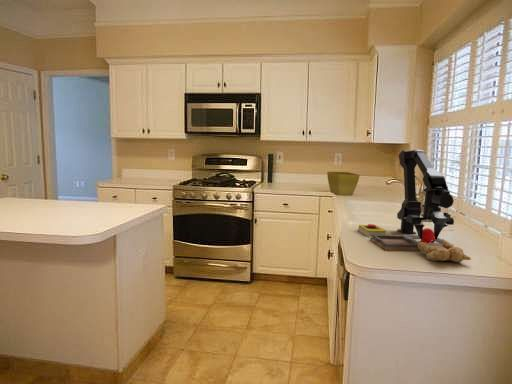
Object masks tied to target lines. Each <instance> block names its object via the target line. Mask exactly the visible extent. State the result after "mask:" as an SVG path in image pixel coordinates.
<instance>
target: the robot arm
mask: <svg viewBox="0 0 512 384" xmlns="http://www.w3.org/2000/svg"><path fill="white" fill-rule="evenodd" d="M398 159H399V165H400V166H401V168H402V169H403V179H404V180H403V185H404V186H403V187H404V188H403V189H404V200H403V201H402V203H401V206H400V207H401V208H400V209H399V211H398V212H397V215H396V218H397V219H398V220H401V221H400V228H397V231H398V232H400V233H402V234H410V235H418V236H419V240H421V239H422V231H423V229H424V227H425V224H423V223H432V224H433V232H434V236H435V241H436V239H437V237H439V235H440V234H441V232H442V231H443V229H444V228H446V227H449V226H450V225H453V226H454V224H455V220H454V218H453V217H451V215H452V214H451V213H450V212H447V211H446V212H442V208H444V209H449V208H451V207H452V206H453V204H454V197H453V196H452V194H451V193H450V191H449V187H448V184H447V181H446V179H445V176H444V175H443V174H442V172H440V171H438V170H436V168H434V166H433V165H432V163H431V161H430V159H428V156H427V155H426V150H423V149H413V150H407V149H406V150H405V149H404V150H401V151H400V152H399V153H398ZM417 166H418V168H419V170H420V171H421V173H422V182H423V184H424V186H425V188H424V189H423V192H424V193H425V194H424V204H422V202H421V201H419V200H418V199H417V193H416V192H417V189H416V187H417V186H416V167H417ZM422 208H423V213H422ZM414 228H415V230H416V232H415V231H414Z"/></svg>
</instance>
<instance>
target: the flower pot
mask: <svg viewBox="0 0 512 384" xmlns="http://www.w3.org/2000/svg"><path fill="white" fill-rule="evenodd" d="M326 174H327V182H328V187H329V190H330V193H331V194H334V195H338V196H352V195H354V193H355V190H356V188H357V185H358V182H359V180H360V176H361V175H360V174H357V173H353V172H348V171H327V173H326Z"/></svg>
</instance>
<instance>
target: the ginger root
mask: <svg viewBox="0 0 512 384" xmlns="http://www.w3.org/2000/svg"><path fill="white" fill-rule="evenodd" d="M441 239H442V242H443V244H442V243H441V244H442V245H443V247H442V246H431V245H429V244H430V243H429V244H427V243H425V242H422V241H418V242H419V243H418V248H419V249H420V250H421V251H420V252H422V253H424V254H425V255H426V256H425V257H426V258H427V259H428V260H430V261H433V262H438V261H444V262H445V261H452V262H454V263H461V262H463V261H470V260H472V258H471V257H470V256H467V255H466V254H465V252H464V249H462V248H461V247H458V246H455V245H454V246H453V245H451V244H450V243H451V242H450V243H448V242H449V241H448V240H445V239H444V238H441Z"/></svg>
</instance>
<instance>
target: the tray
mask: <svg viewBox="0 0 512 384" xmlns="http://www.w3.org/2000/svg"><path fill="white" fill-rule="evenodd" d="M402 236H404V237H406V238H408V239H410V240H412V241H414V242H415V243H417V244H418V243H419V242H420V241H417V240H416V239H419V236H418V234H402ZM442 239H443V238H441V237H439V236H438V237H437V239H436V240H435V242H437V243H429V245H431V246H442V247H443V245H442V244H443V242H442ZM419 240H420V239H419ZM447 242H448V243H450V244H451V245H453V246H454V247H455V244H454V243H451V242H449V241H447Z"/></svg>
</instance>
